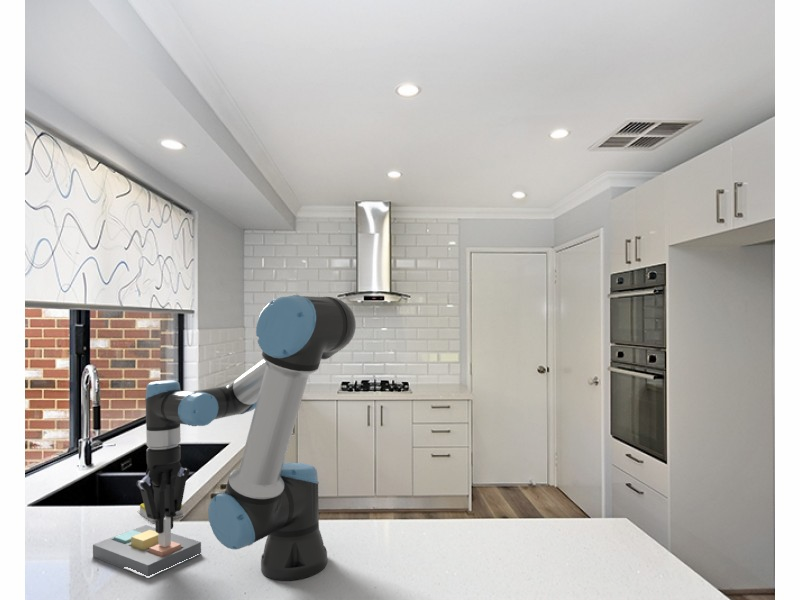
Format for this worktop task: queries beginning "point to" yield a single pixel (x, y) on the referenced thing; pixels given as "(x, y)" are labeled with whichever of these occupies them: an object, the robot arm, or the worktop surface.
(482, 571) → the worktop surface
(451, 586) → the worktop surface
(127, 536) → the teal button
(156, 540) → the yellow button
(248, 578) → the worktop surface
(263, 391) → the robot arm
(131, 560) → the button panel
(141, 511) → the emergency button
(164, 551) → the terracotta button
